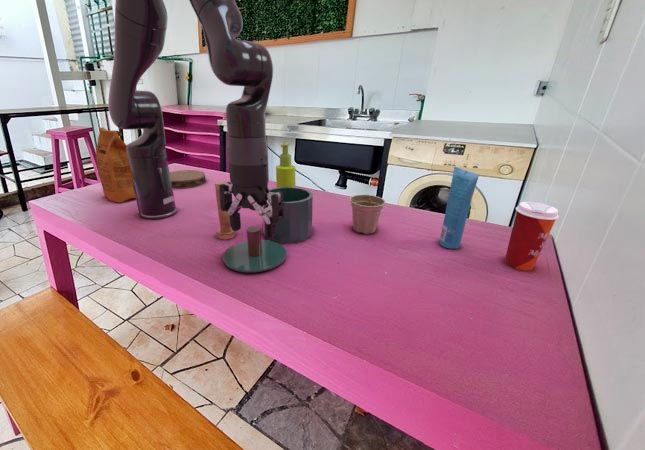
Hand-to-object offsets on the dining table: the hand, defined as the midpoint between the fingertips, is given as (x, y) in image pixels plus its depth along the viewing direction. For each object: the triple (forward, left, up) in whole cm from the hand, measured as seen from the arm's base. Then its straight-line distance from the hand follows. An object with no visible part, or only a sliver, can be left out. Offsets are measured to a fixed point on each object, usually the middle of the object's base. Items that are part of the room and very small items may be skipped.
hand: (252, 233), depth 65 cm
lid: (0, 0, -5) cm, 5 cm away
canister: (0, +15, -6) cm, 16 cm away
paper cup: (+55, +24, -6) cm, 61 cm away
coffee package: (-62, +14, -6) cm, 64 cm away
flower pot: (+18, +26, -6) cm, 32 cm away
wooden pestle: (-13, +6, -6) cm, 15 cm away
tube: (+40, +27, -6) cm, 49 cm away
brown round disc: (-58, +36, -6) cm, 68 cm away
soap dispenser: (-10, +32, -6) cm, 34 cm away
